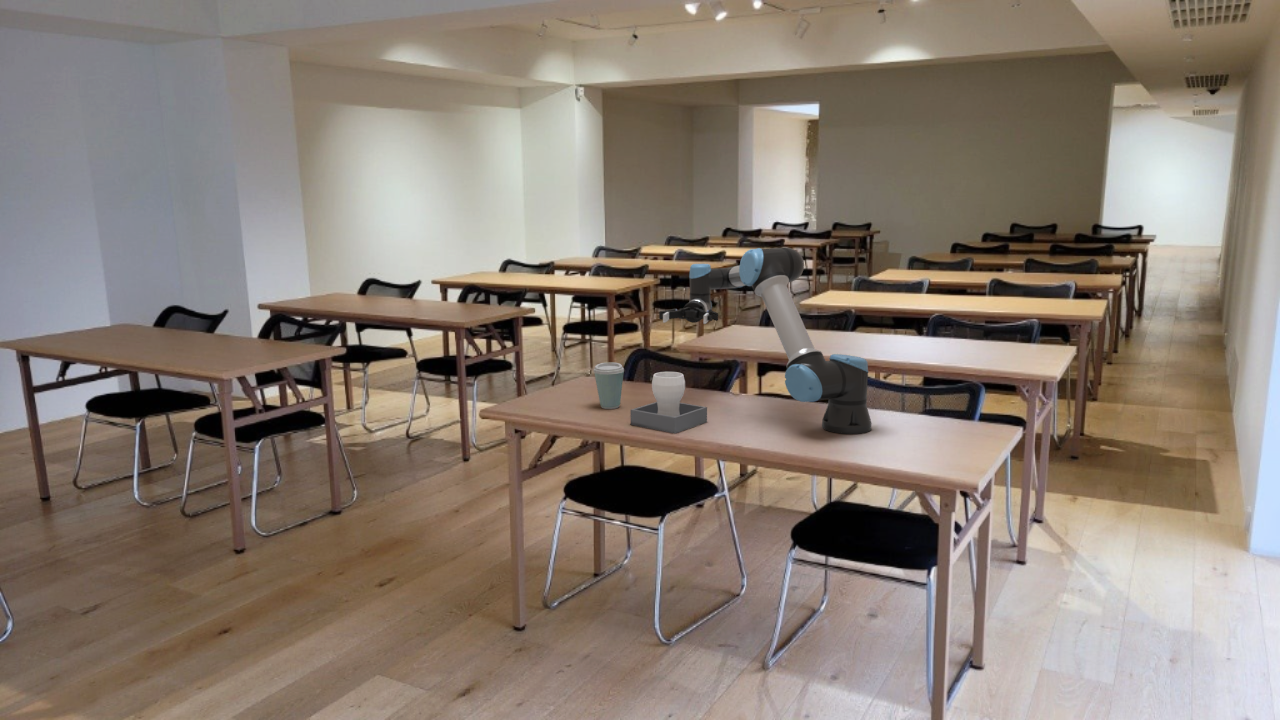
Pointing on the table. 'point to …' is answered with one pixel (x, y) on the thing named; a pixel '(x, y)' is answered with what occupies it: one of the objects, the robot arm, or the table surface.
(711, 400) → the table surface
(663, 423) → the bin
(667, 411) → the white ceramic vase
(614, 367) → the disposable coffee cup
